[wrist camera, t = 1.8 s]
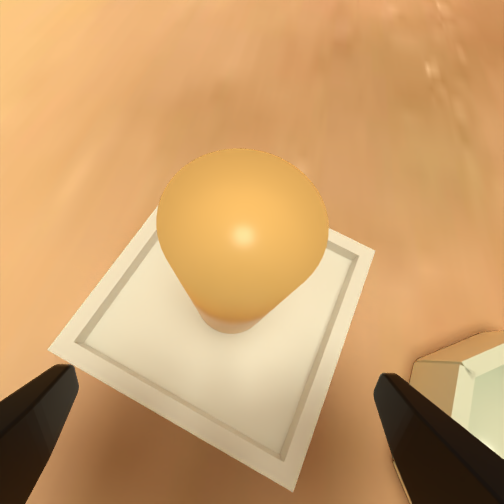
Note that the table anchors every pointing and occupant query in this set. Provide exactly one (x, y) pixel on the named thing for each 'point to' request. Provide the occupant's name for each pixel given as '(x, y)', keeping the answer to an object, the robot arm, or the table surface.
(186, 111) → the table surface
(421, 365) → the sage bowl
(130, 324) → the parts tray
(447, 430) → the robot arm
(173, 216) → the orange tapered cylinder
